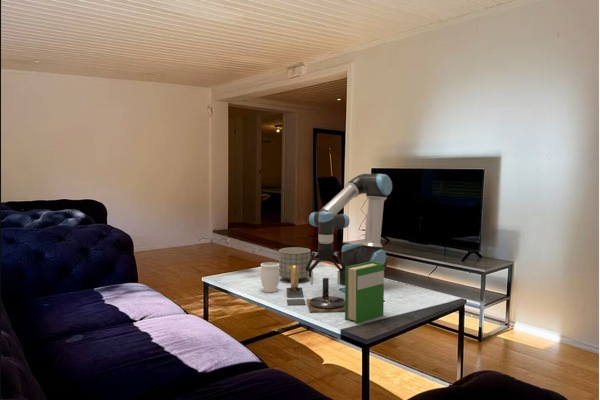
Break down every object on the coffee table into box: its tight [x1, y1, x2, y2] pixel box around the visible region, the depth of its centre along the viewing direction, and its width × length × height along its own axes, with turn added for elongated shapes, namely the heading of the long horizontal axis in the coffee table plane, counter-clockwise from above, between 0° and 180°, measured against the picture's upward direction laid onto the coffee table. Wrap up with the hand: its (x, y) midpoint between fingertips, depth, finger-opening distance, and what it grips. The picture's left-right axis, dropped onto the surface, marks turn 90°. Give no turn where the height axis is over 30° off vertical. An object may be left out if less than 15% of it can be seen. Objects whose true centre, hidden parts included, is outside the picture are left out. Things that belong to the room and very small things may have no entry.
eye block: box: [285, 286, 304, 299], centre depth 238 cm, size 8×8×3 cm
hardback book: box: [344, 261, 385, 325], centre depth 202 cm, size 18×7×24 cm, turn 130°
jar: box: [260, 261, 280, 293], centre depth 246 cm, size 11×10×15 cm
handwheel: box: [310, 277, 345, 309], centre depth 219 cm, size 17×17×11 cm
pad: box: [286, 298, 307, 306], centre depth 225 cm, size 9×9×1 cm
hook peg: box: [287, 265, 299, 291], centre depth 237 cm, size 6×4×16 cm, turn 94°
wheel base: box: [306, 297, 345, 314], centre depth 219 cm, size 19×19×1 cm
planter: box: [278, 246, 311, 282], centre depth 270 cm, size 19×19×18 cm
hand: (325, 284), depth 225 cm, fingers open, 13 cm apart
